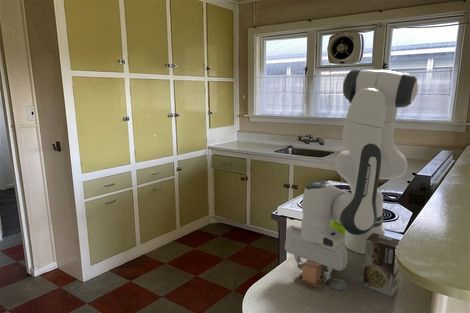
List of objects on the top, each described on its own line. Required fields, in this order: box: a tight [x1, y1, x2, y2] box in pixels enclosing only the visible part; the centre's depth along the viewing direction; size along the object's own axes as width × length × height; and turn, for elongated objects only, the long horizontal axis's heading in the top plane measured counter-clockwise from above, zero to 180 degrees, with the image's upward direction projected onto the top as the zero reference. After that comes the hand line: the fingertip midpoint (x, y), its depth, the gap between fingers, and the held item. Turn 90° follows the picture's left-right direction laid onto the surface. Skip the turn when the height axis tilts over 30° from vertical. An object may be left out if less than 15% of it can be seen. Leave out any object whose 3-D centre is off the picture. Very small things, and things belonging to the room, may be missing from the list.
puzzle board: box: [294, 265, 328, 291], centre depth 112 cm, size 18×8×6 cm, turn 144°
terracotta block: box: [301, 259, 321, 285], centre depth 108 cm, size 4×4×6 cm
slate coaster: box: [327, 278, 347, 291], centre depth 107 cm, size 6×6×1 cm
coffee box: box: [362, 233, 401, 297], centre depth 104 cm, size 9×6×16 cm
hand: (313, 272), depth 108 cm, fingers open, 8 cm apart
